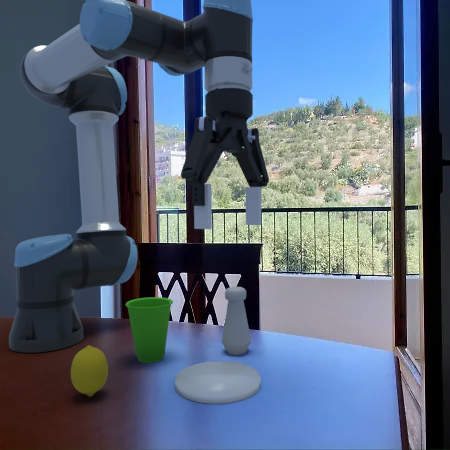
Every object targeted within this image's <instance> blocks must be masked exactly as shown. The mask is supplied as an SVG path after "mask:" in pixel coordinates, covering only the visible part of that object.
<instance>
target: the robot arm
mask: <svg viewBox="0 0 450 450" xmlns="http://www.w3.org/2000/svg"><path fill="white" fill-rule="evenodd" d="M202 8H203V13H201V14H198V15H197V16H195V17H194V18H192V19H190V20H187V21H184V20H180V19H178V18H175V17H172V16H170V15H167V14H164V13H161V12H159V11H156V10H153V9H150V8H148V7H144V6H142V5H140V4H137V3H135V2H133V1H129V0H85V2H84V3H83V5H82V7H81V11H80V14H79V23H78V24H77V25H75V26H74V27H73V28H71V29H70V30H68V31H67V32H65V33H64V34H62V35H61V36H59V37H58V38H56V39H55V40H54V41H52V42H50V43H49V44H48V45H38V46H35V47H33V48H32V49H30V50H29V51H27V52H26V53H25V54H24V55H23V57H22V59H21V61H20V64H19V76H20V80H21V82H22V85H23V86H24V88H25V89H26V91H27V92H28V93H29V94H30V95H31V96H32V97H33V98H34V99H36V100H38V101H39V102H41V103H43V104H45V105H48V106H50V107H53V108H59V109H65V110H68V119H69V121H70V122H71V123H72V124H73V125H74V126H75V129H76V130H75V131H76V146H77V160H78V163H77V164H78V176H79V177H78V178H79V191H80V207H81V208H80V210H81V222H82V224H81V226H79V229H77V230H76V232H75V237H76V239H74V238H73V236H72V234H69V233H62V234H61V233H60V234H55V235H54V234H53V235H46V236H40V237H39V236H38V237H35V238H34V237H33V238H30V239H26V240H24V241H21V242H19V243H18V244H17V245H16V247H15V253H14V264H13V267H15V269H14V270H15V292H16V293H15V294H16V295H15V297H16V312H15V315H14V319H13V323H12V325H11V328H10V332H9V335H8V348H9V349H10V350H11V351H13V352H17V353H26V354H27V353H28V354H29V353H30V354H31V353H33V354H34V353H44V352H51V351H56V350H61V349H65V348H68V347H71V346H74V345H77V344H79V343H80V342H81V341H83V339H84V328H83V327H84V326H83V324H82V321H81V319H80V315H79V314H78V310H77V309H76V305H75V298H74V297H75V291H79V290H80V291H81V290H86V289H87V290H88V289H94V288H101V287H107V286H108V287H113V286H115V285H118V284H119V285H120V284H124V283H126V282H127V281H128V280H130V278H131V277H132V275H133V274H134V273H135V270H136V268H137V263H138V248H137V245H136V243H135V240H134V239H133V237H130V236H128V235H127V229H126V227H125V226H123V225H122V224H121V223H120V215H119V201H118V200H119V199H118V185H117V172H116V171H117V170H116V156H115V141H114V140H115V139H114V125H116V123H117V122H118V121H119V116H121V115H122V114H123V113H124V111H125V109H126V107H127V105H126V103H127V100H128V92H127V86H126V81H125V79H124V77H123V75H122V74H121V73H120V72H118V70H117V69H115V68H113V67H110V66H108V65H110V64H112V63H114V62H116V61H118V60H121V59H123V58H125V57H131V58H132V57H133V58H136V59H140V60H144V61H148V62H152V63H155V64H157V65H158V66H159V68H160V69H162V70H163V71H164V72H165V74H167V75H169V76H173V77H178V76H179V77H180V76H183V75H185V76H186V75H188V74H192V73H195V71H197V70H199V69H202V68H204V90H205V91H206V92H207V93H206V94H205V95H204V98H205V99H204V101H205V102H204V107H205V108H204V109H205V110H204V112H205V115H204V116H200V117H196V118H195V120H194V121H195V124H194V133H193V136H192V139H191V142H190V144H189V148H188V151H187V154H186V157H185V159H184V163H183V167H182V169H181V171H180V177H181V179H182V180H185V183H186V184H187V185H191V193H192V194H191V196H192V197H191V198H192V199H191V202H192V203H191V204H192V206H193V216H194V219H193V220H194V224H193V226H194V229H195V230H212V229H213V227H212V226H213V223H212V222H213V221H212V220H213V218H212V215H213V214H212V207H213V206H212V183H207V182H208V180H209V179H210V176H211V175H212V173H213V172H214V170H215V167H216V166H217V164H218V162H219V160H220V158H221V156H222V155H223V153H224V152H226V153H229V154H231V155H232V156H233V157H234V158H235V159H236V161H237V164H238V166H239V167H240V169H241V172H242V174H243V176H244V178H245V181H246V182H247V185H248V187H247V186H246V187H245V225H247V226H262V187H267V186H268V184H269V182H270V177H269V175H268V170H267V166H266V163H265V158H264V155H263V154H264V153H263V150H262V148H261V147H262V146H261V143H260V133H259V131H260V130H259V128H258V127H254V128H253V127H251V128H249V127H248V120H249V119H250V118H251V117H252V116H253V114H254V101H253V100H254V97H253V96H254V95H253V93H252V89H253V21H254V17H253V12H252V11H253V8H252V0H203V4H202Z"/></svg>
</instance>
